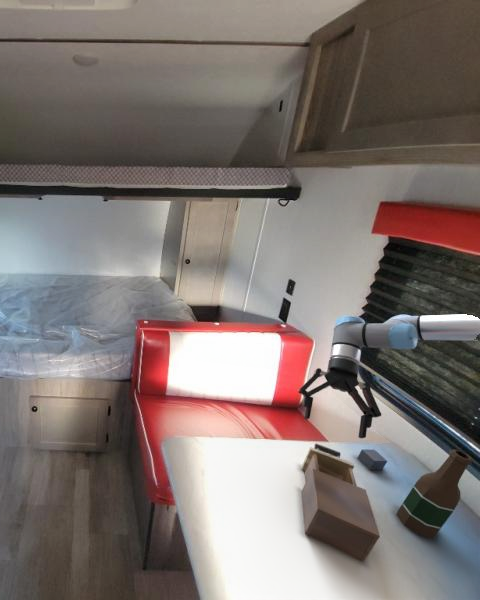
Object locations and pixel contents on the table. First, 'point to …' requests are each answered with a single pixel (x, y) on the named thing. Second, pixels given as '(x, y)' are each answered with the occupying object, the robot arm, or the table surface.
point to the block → (372, 459)
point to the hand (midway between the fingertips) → (333, 427)
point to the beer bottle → (434, 497)
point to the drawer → (328, 464)
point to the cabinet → (338, 515)
